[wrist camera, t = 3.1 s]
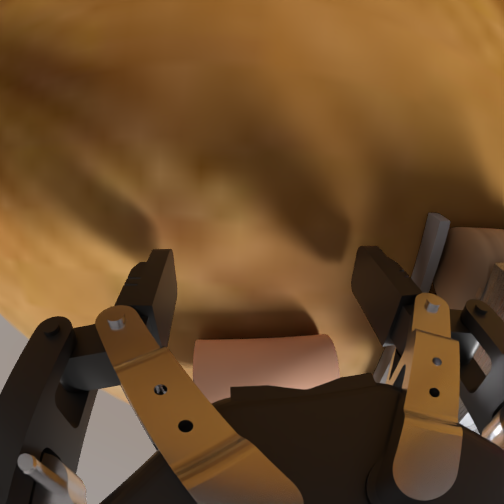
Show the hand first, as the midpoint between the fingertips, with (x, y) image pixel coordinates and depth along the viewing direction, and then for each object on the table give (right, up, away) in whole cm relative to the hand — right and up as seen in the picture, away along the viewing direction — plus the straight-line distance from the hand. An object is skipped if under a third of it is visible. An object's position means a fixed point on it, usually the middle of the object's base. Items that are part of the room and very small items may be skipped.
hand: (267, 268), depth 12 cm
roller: (0, -6, 0) cm, 6 cm away
